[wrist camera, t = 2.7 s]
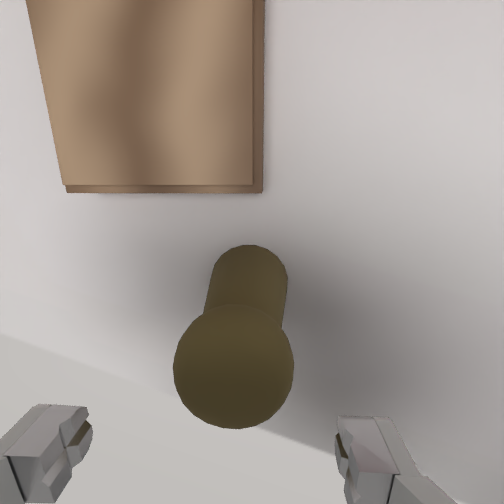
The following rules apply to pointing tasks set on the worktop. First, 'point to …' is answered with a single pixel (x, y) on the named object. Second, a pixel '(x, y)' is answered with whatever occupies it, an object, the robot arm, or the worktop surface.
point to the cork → (238, 343)
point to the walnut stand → (154, 93)
